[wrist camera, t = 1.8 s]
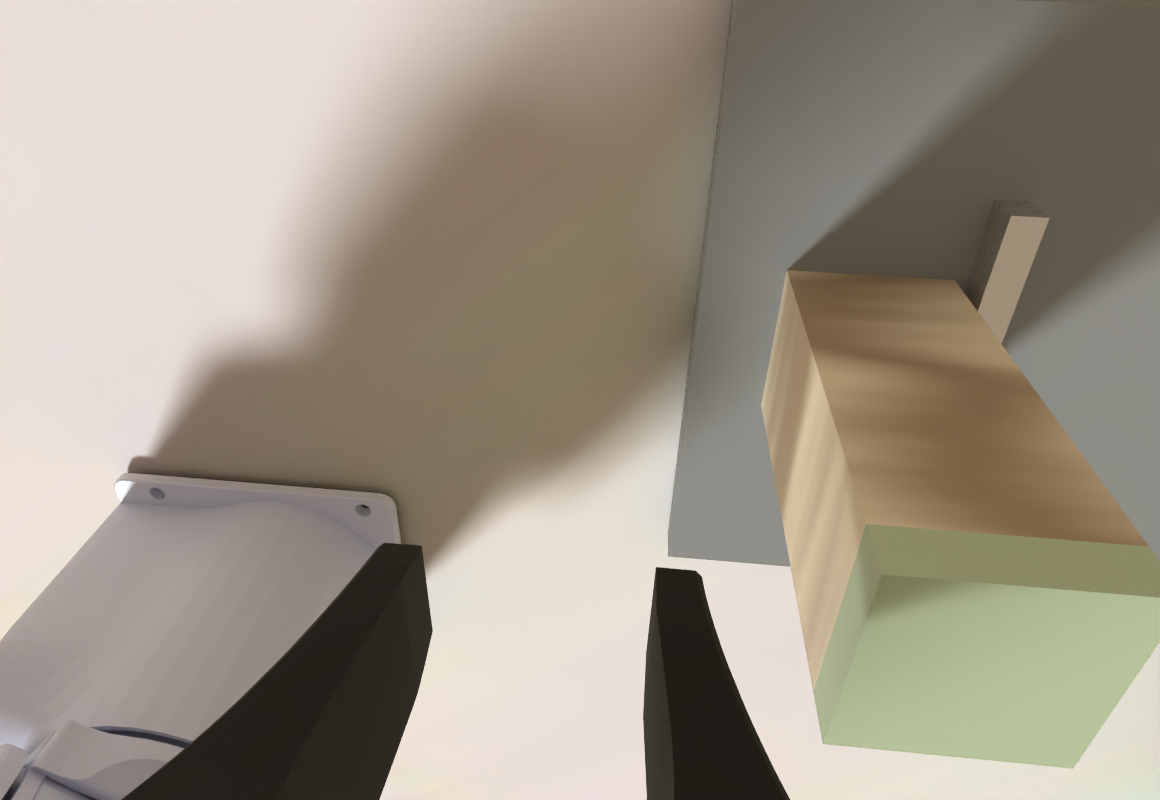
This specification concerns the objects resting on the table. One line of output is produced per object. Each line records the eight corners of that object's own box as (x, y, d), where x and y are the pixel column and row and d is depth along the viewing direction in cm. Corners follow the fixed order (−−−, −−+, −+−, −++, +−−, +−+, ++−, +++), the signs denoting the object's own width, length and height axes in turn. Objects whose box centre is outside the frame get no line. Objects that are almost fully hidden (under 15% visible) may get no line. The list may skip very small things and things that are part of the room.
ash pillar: (761, 405, 21) (823, 743, 13) (786, 270, 19) (881, 574, 10) (911, 415, 21) (1073, 768, 12) (954, 280, 19) (1188, 600, 10)
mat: (668, 534, 25) (668, 579, 24) (734, -16, 16) (742, -5, 15) (1241, 581, 24) (1284, 632, 23) (1649, 19, 15) (1770, 35, 14)
